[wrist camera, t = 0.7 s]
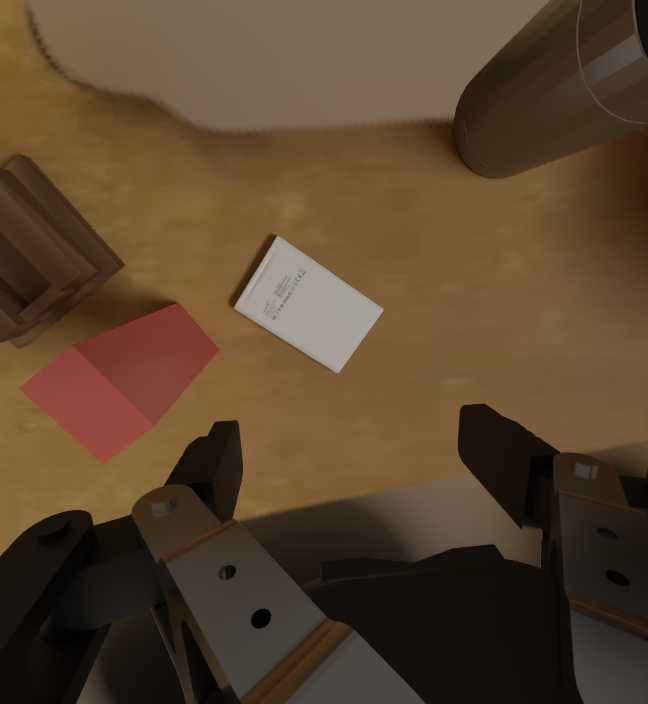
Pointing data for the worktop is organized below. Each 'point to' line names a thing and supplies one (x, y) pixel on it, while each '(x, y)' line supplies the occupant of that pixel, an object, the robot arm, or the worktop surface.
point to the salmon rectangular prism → (122, 379)
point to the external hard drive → (307, 306)
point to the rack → (43, 254)
